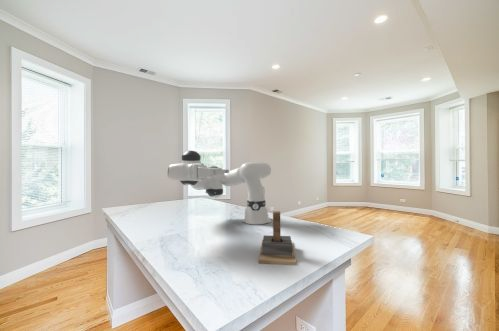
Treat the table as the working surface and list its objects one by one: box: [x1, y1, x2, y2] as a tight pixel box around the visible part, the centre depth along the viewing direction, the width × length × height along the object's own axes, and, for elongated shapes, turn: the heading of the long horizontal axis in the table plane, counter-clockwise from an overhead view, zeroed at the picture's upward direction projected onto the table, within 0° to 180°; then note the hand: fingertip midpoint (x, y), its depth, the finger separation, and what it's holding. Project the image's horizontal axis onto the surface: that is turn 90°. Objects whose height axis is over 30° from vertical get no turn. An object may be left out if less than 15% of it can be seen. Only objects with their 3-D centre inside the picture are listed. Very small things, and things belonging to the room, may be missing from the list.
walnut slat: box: [272, 210, 281, 242], centre depth 99 cm, size 3×3×16 cm
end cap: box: [258, 234, 297, 266], centre depth 99 cm, size 24×14×5 cm, turn 174°
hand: (226, 171), depth 113 cm, fingers open, 8 cm apart
